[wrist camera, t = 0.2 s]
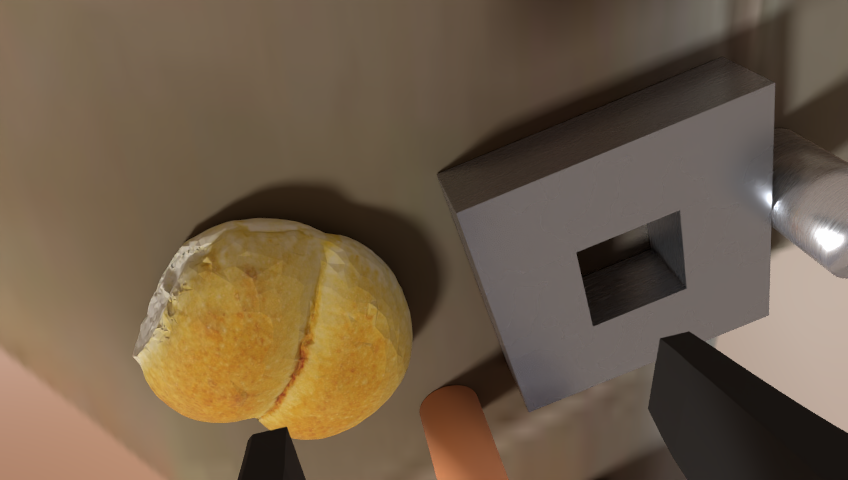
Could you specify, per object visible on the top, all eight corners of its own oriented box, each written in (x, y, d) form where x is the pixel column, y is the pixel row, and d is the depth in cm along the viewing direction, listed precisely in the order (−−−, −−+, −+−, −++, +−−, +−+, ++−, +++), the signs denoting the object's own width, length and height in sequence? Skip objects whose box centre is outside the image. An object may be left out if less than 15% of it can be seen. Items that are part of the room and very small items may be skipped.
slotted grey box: (795, 249, 25) (896, 329, 21) (508, 366, 26) (554, 466, 22) (808, 21, 20) (951, 70, 16) (436, 174, 20) (480, 262, 16)
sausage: (484, 412, 27) (532, 540, 22) (430, 434, 27) (466, 566, 22) (468, 376, 25) (516, 505, 21) (411, 400, 26) (446, 533, 21)
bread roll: (344, 412, 25) (355, 497, 22) (119, 357, 21) (94, 451, 18) (450, 265, 22) (482, 339, 19) (211, 168, 18) (199, 241, 15)
